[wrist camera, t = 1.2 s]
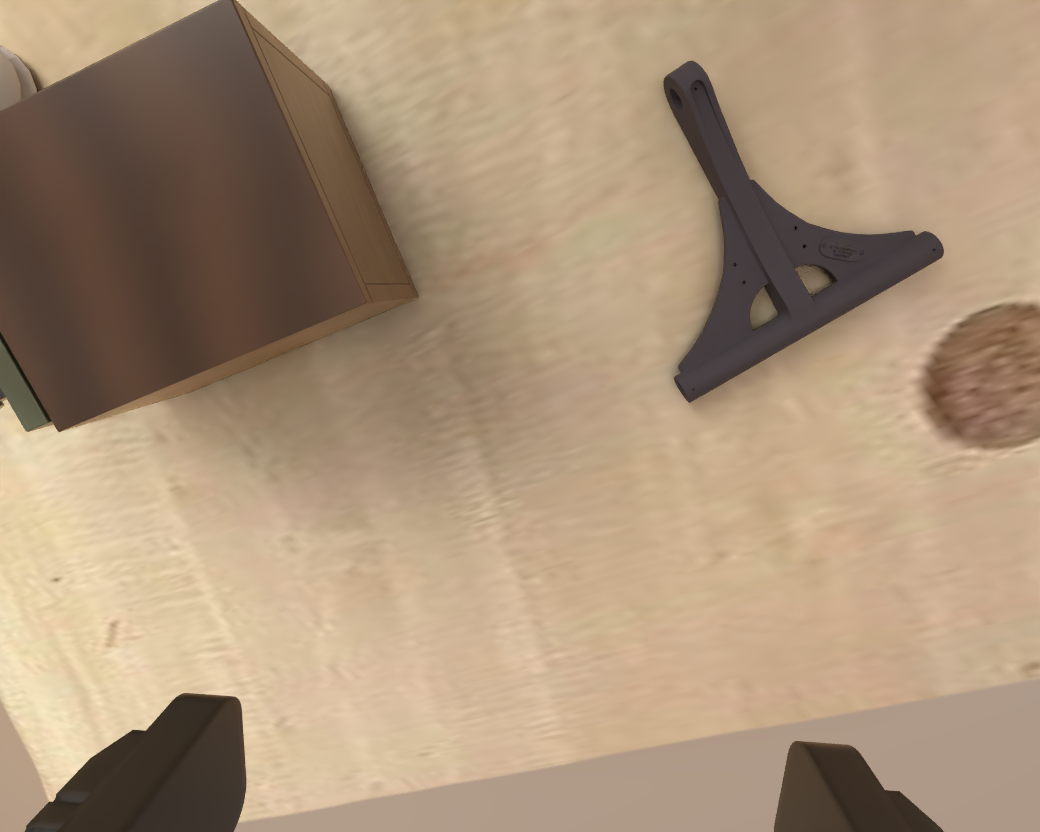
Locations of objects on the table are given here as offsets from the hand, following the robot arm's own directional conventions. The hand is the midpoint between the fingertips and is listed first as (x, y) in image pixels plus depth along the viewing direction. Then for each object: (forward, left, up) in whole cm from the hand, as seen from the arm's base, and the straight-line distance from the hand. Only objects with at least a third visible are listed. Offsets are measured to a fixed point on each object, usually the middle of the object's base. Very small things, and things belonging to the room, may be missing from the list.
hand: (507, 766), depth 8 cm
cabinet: (-14, -11, -25) cm, 31 cm away
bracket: (-6, +14, -26) cm, 30 cm away
